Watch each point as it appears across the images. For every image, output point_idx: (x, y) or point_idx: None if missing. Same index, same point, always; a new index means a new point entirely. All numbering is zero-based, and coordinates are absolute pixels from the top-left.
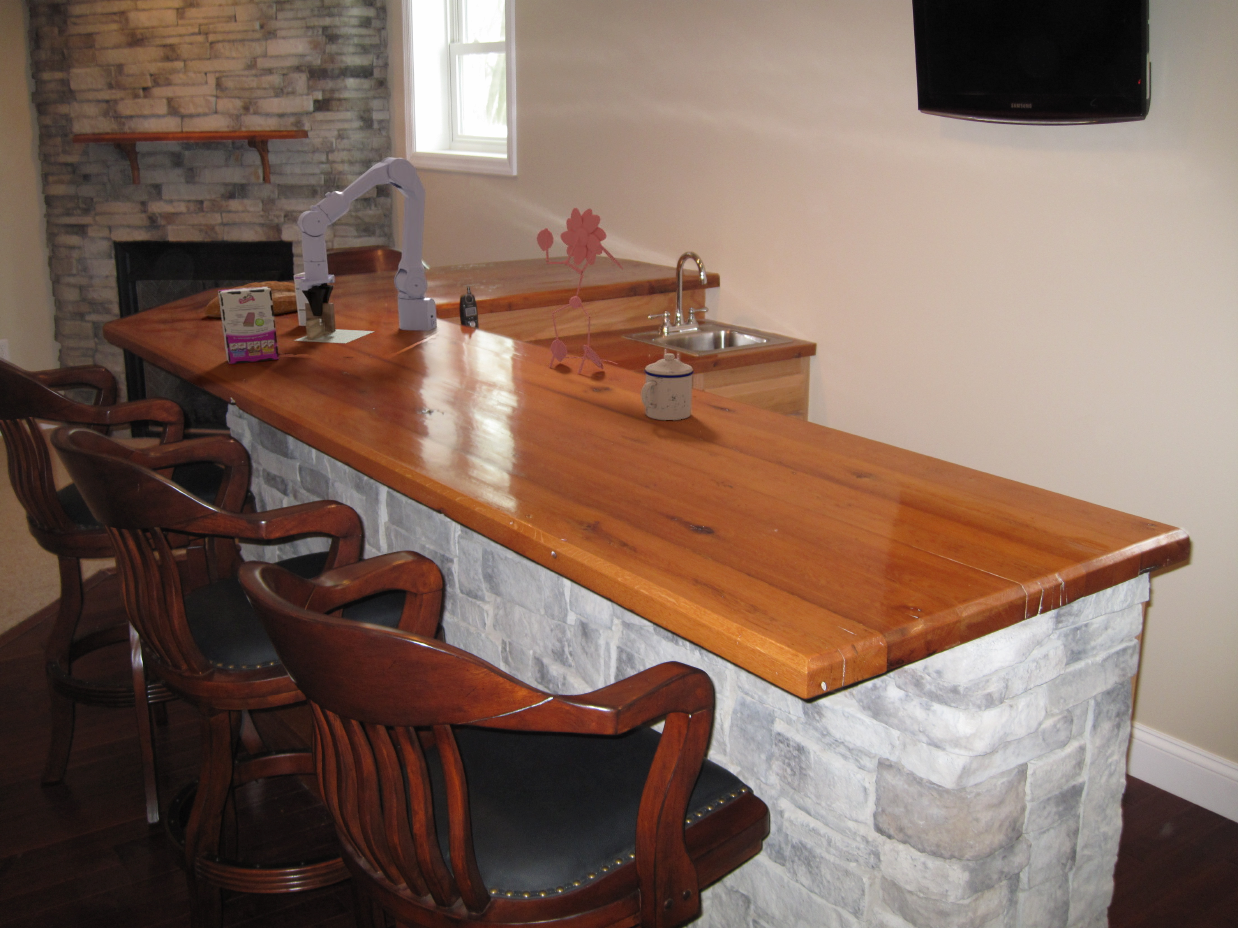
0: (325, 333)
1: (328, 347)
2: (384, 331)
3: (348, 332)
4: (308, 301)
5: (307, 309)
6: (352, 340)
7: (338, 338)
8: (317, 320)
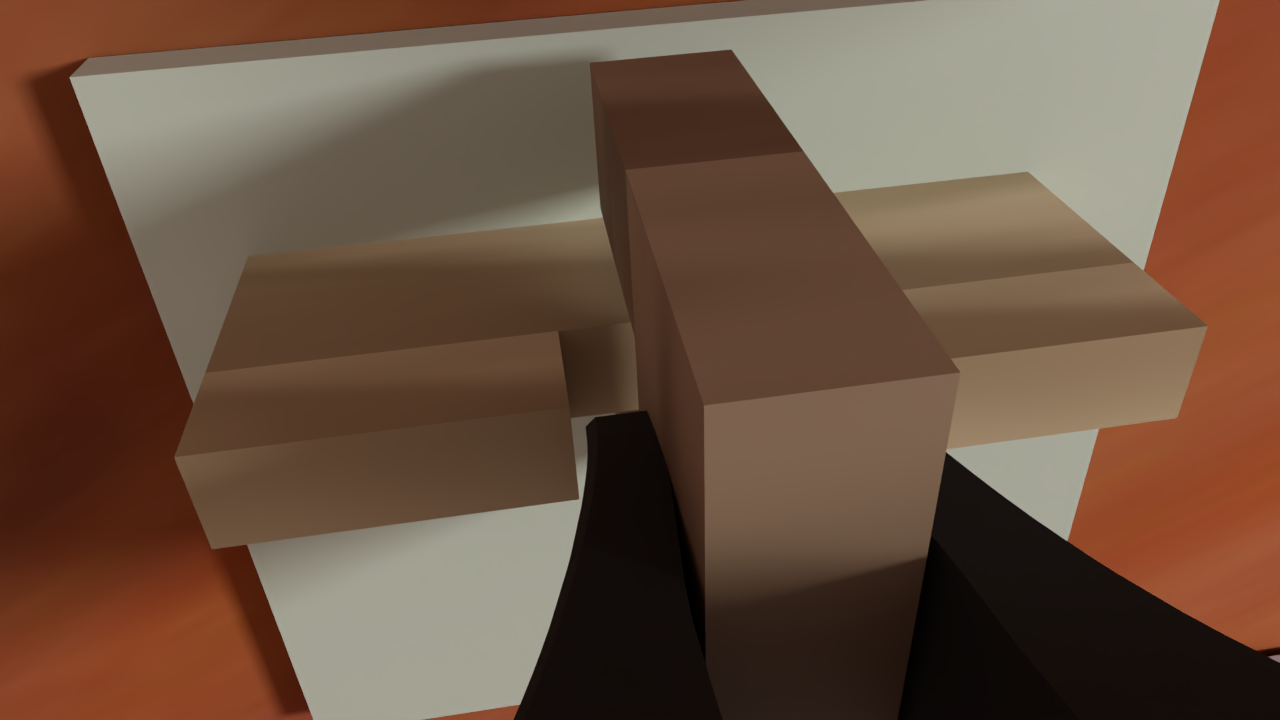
0: None
1: (176, 599)
2: (1205, 581)
3: None
4: (531, 692)
5: (668, 341)
6: (491, 708)
7: (532, 549)
8: (495, 497)
